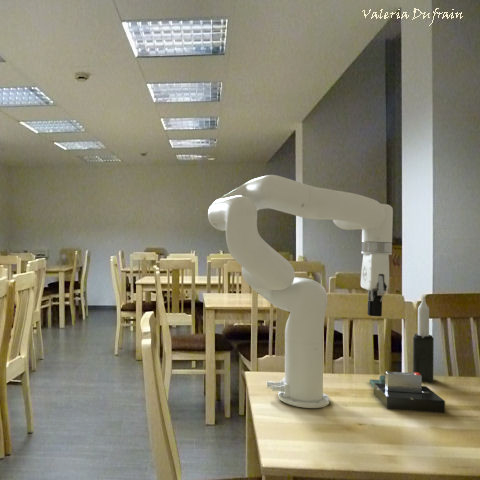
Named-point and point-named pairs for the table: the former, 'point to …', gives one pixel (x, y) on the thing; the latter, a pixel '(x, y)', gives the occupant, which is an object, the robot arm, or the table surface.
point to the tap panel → (410, 400)
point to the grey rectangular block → (403, 382)
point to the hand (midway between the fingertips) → (374, 315)
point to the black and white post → (423, 345)
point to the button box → (381, 380)
